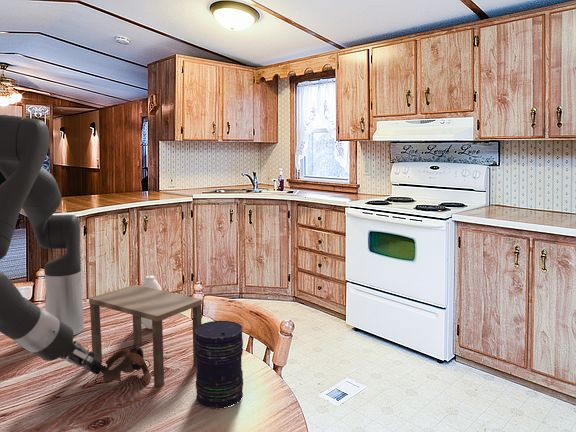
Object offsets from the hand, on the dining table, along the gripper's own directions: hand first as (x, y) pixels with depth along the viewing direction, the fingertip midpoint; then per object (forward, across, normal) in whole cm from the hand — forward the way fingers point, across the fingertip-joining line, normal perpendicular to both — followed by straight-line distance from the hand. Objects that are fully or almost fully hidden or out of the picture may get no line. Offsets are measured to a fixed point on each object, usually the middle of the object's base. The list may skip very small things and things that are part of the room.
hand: (98, 369), depth 106 cm
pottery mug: (+7, -3, -1) cm, 8 cm away
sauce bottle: (+24, +17, -19) cm, 35 cm away
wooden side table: (+12, 0, -7) cm, 14 cm away
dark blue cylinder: (+10, -25, -5) cm, 28 cm away
